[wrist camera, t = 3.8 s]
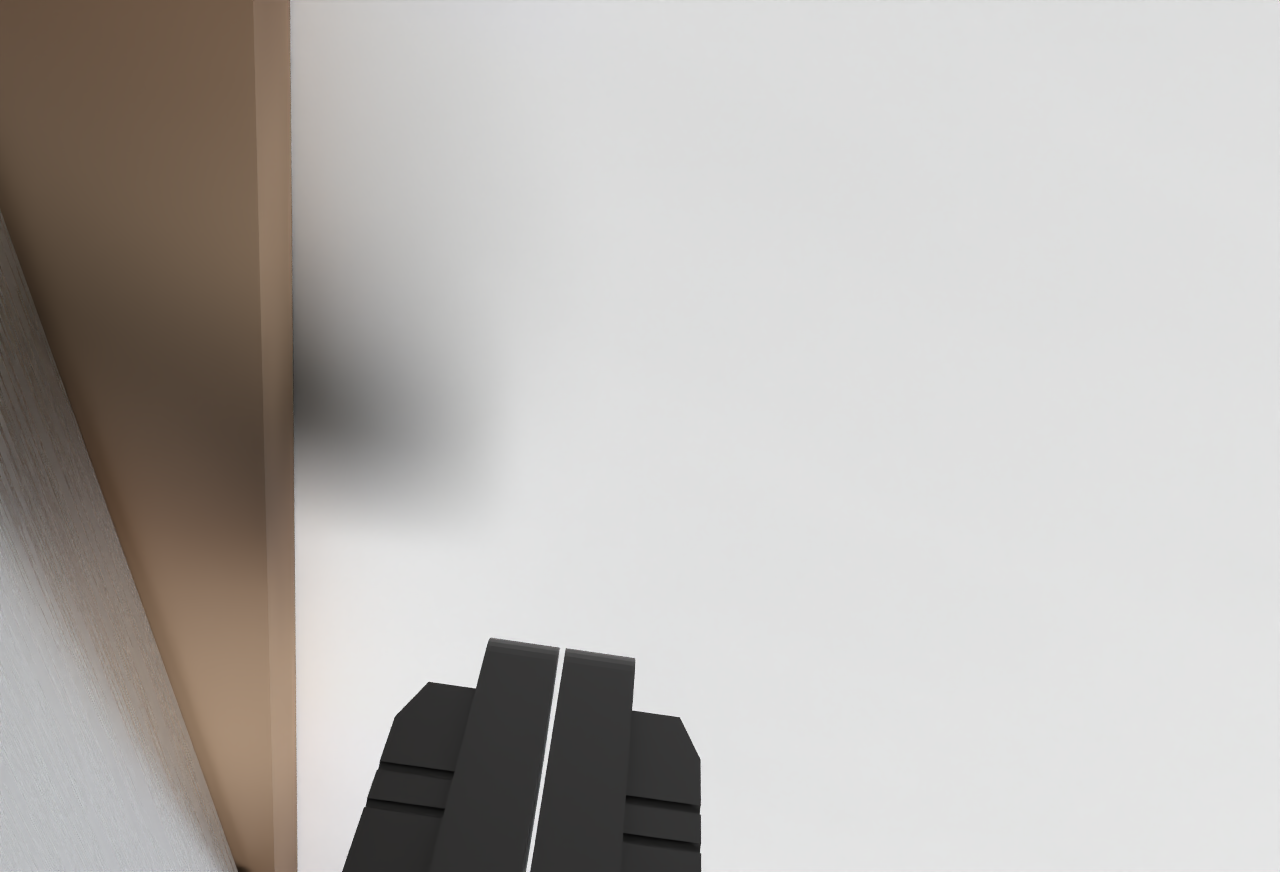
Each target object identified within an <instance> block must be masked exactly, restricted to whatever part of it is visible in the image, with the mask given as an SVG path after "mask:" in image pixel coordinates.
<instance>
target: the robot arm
mask: <svg viewBox="0 0 1280 872" xmlns="http://www.w3.org/2000/svg"><path fill="white" fill-rule="evenodd" d="M559 649H560V648H558V647H551V646H544V645H537V644H530V643H523V642H517V641H510V640H503V639H496V638H490V639H489V641H488V644H487V648H486V652H485V656H484V659H483V663H482V667H481V671H480V675H479V679H478V683H477V687H476V689H475V688H468V687H461V686H454V685H447V684H440V683H433V682H428V683H427V684H426V685H425V686H424V687H423V688H422V689H421V690H420V691H419V692H418V694H417V695H416V696H415V697H414V698H413V699H412V700H411V701H410V702H409V703H408V704H407V705H406V706H405V707H404V708H403V709H402V710H401V711H400V712H399V713H398V714H397V715H396V716H395V718H394V721H393V724H392V727H391V730H390V733H389V736H388V739H387V742H386V744H385V747H384V750H383V753H382V756H381V759H380V764H379V769H378V770H377V771H376V774H375V777H374V780H373V783H372V786H371V789H370V791H369V794H368V797H367V803H366V807H364V809H363V812H362V815H361V818H360V821H359V824H358V827H357V830H356V833H355V835H354V838H353V841H352V844H351V847H350V850H349V853H348V856H347V859H346V862H345V865H344V868H343V871H342V872H526V868H527V861H528V855H529V849H530V843H531V837H532V831H533V825H534V819H535V812H536V806H537V800H538V793H539V787H540V781H541V774H542V767H543V761H544V754H545V747H546V740H547V733H548V726H549V719H550V712H551V705H552V699H553V692H554V685H555V678H556V671H557V664H558V657H559ZM634 675H635V658H630V657H623V656H616V655H609V654H602V653H595V652H588V651H581V650H574V649H567V648H566V651H565V657H564V663H563V670H562V676H561V682H560V688H559V695H558V701H557V707H556V714H555V720H554V726H553V732H552V739H551V745H550V751H549V758H548V764H547V770H546V777H545V783H544V789H543V795H542V802H541V808H540V814H539V821H538V827H537V833H536V839H535V846H534V852H533V858H532V865H531V871H530V872H701V853H700V846H701V815H700V806H701V770H700V758H699V756H698V754H697V752H696V750H695V748H694V746H693V743H692V741H691V739H690V737H689V735H688V733H687V731H686V729H685V727H684V725H683V723H682V721H681V719H680V717H673V716H666V715H659V714H652V713H645V712H638V711H632V703H633V689H634Z"/></svg>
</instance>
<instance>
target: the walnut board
mask: <svg viewBox="0 0 1280 872" xmlns="http://www.w3.org/2000/svg"><path fill="white" fill-rule="evenodd" d="M0 210H1V213H2V216H3V218H4V221H5V224H6V227H7V230H8V232H9V235H10V238H11V241H12V244H13V246H14V249H15V252H16V255H17V257H18V260H19V263H20V266H21V269H22V271H23V274H24V277H25V280H26V283H27V285H28V288H29V291H30V294H31V296H32V299H33V302H34V305H35V308H36V310H37V313H38V316H39V319H40V322H41V324H42V327H43V330H44V333H45V335H46V338H47V341H48V344H49V347H50V349H51V352H52V355H53V358H54V361H55V363H56V366H57V369H58V372H59V374H60V377H61V380H62V383H63V386H64V388H65V391H66V394H67V397H68V400H69V402H70V405H71V408H72V411H73V413H74V416H75V419H76V422H77V425H78V427H79V430H80V433H81V436H82V439H83V441H84V444H85V447H86V450H87V452H88V455H89V458H90V461H91V464H92V466H93V469H94V472H95V475H96V478H97V480H98V483H99V486H100V489H101V491H102V494H103V497H104V500H105V503H106V505H107V508H108V511H109V514H110V517H111V519H112V522H113V525H114V528H115V530H116V533H117V536H118V539H119V542H120V544H121V547H122V550H123V553H124V556H125V558H126V561H127V564H128V567H129V569H130V572H131V575H132V578H133V581H134V583H135V586H136V589H137V592H138V595H139V597H140V600H141V603H142V606H143V608H144V611H145V614H146V617H147V620H148V622H149V625H150V628H151V631H152V634H153V636H154V639H155V642H156V645H157V648H158V650H159V653H160V656H161V659H162V661H163V664H164V667H165V670H166V673H167V675H168V678H169V681H170V684H171V687H172V689H173V692H174V695H175V698H176V700H177V703H178V706H179V709H180V712H181V714H182V717H183V720H184V723H185V726H186V728H187V731H188V734H189V737H190V739H191V742H192V745H193V748H194V751H195V753H196V756H197V759H198V762H199V765H200V767H201V770H202V773H203V776H204V778H205V781H206V784H207V787H208V790H209V792H210V795H211V798H212V801H213V804H214V806H215V809H216V812H217V815H218V817H219V820H220V823H221V826H222V829H223V831H224V834H225V837H226V840H227V843H228V845H229V848H230V851H231V854H232V856H233V859H234V862H235V865H236V868H237V870H238V872H297V776H296V661H295V546H294V430H293V315H292V200H291V85H290V0H0Z"/></svg>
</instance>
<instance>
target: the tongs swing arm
mask: <svg viewBox="0 0 1280 872" xmlns="http://www.w3.org/2000/svg"><path fill="white" fill-rule="evenodd" d="M0 872H238V870H237V868H236V865H235V862H234V859H233V856H232V854H231V851H230V848H229V845H228V843H227V840H226V837H225V834H224V831H223V829H222V826H221V823H220V820H219V817H218V815H217V812H216V809H215V806H214V804H213V801H212V798H211V795H210V792H209V790H208V787H207V784H206V781H205V778H204V776H203V773H202V770H201V767H200V765H199V762H198V759H197V756H196V753H195V751H194V748H193V745H192V742H191V739H190V737H189V734H188V731H187V728H186V726H185V723H184V720H183V717H182V714H181V712H180V709H179V706H178V703H177V700H176V698H175V695H174V692H173V689H172V687H171V684H170V681H169V678H168V675H167V673H166V670H165V667H164V664H163V661H162V659H161V656H160V653H159V650H158V648H157V645H156V642H155V639H154V636H153V634H152V631H151V628H150V625H149V622H148V620H147V617H146V614H145V611H144V608H143V606H142V603H141V600H140V597H139V595H138V592H137V589H136V586H135V583H134V581H133V578H132V575H131V572H130V569H129V567H128V564H127V561H126V558H125V556H124V553H123V550H122V547H121V544H120V542H119V539H118V536H117V533H116V530H115V528H114V525H113V522H112V519H111V517H110V514H109V511H108V508H107V505H106V503H105V500H104V497H103V494H102V491H101V489H100V486H99V483H98V480H97V478H96V475H95V472H94V469H93V466H92V464H91V461H90V458H89V455H88V452H87V450H86V447H85V444H84V441H83V439H82V436H81V433H80V430H79V427H78V425H77V422H76V419H75V416H74V413H73V411H72V408H71V405H70V402H69V400H68V397H67V394H66V391H65V388H64V386H63V383H62V380H61V377H60V374H59V372H58V369H57V366H56V363H55V361H54V358H53V355H52V352H51V349H50V347H49V344H48V341H47V338H46V335H45V333H44V330H43V327H42V324H41V322H40V319H39V316H38V313H37V310H36V308H35V305H34V302H33V299H32V296H31V294H30V291H29V288H28V285H27V283H26V280H25V277H24V274H23V271H22V269H21V266H20V263H19V260H18V257H17V255H16V252H15V249H14V246H13V244H12V241H11V238H10V235H9V232H8V230H7V227H6V224H5V221H4V218H3V216H2V213H1V210H0Z"/></svg>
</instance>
